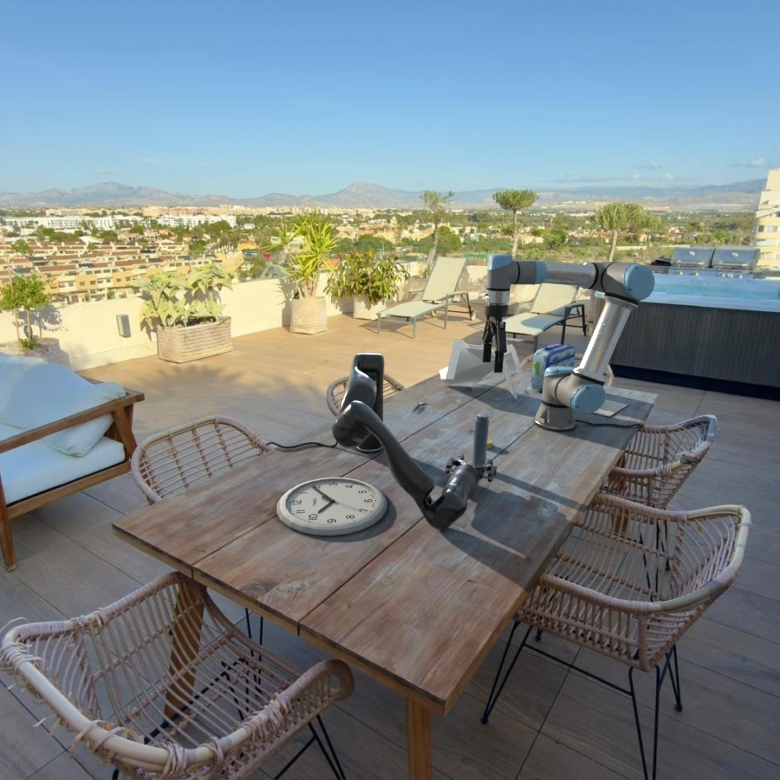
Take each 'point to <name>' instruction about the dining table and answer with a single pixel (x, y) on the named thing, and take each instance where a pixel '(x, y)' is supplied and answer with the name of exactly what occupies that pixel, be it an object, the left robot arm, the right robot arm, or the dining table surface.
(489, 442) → the lid
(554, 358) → the lunch box
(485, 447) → the clear plastic cylinder
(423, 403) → the fork
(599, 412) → the invitation card
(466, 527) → the dining table surface
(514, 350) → the white plastic object
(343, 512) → the wall clock
